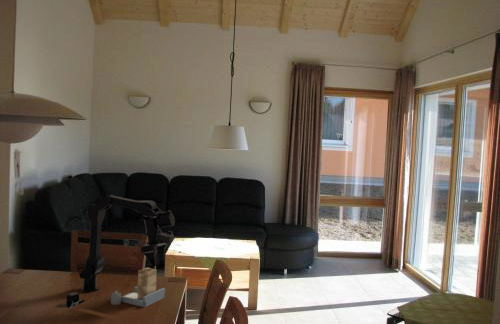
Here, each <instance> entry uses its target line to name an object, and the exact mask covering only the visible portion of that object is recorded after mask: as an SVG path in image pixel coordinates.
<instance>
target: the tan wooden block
mask: <svg viewBox="0 0 500 324" xmlns="http://www.w3.org/2000/svg"><path fill="white" fill-rule="evenodd" d="M157 271H158V270H157V269H156V268H151V267H145V268H143V269H139V270H138V272H137V274H138V275H137V276H138V277H137V287H138V299H137V300H142V301H143V297H144V296H146V295H149V294H151V293H153V292H155V291H157V273H158V272H157Z"/></svg>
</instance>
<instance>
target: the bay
mask: <svg viewBox="0 0 500 324" xmlns="http://www.w3.org/2000/svg"><path fill="white" fill-rule="evenodd" d="M164 298H166V287H162V288H160V289H158V290H157V289H156V291H155V292H153V293H151V294H149V295H146V296H144V297H143V301H142V300H137V299H138V285H137V286H134V291H132V292H129V293H126V294H125V295H122V293H121V292H118V290H115V291H114V292H112V293H111V294H110V304H111V305H112V306H113V305H114V306H117V305H121V304H122V303H124V304H125V303H126V304H129V305H134V306H137V307H143V308H146V307H148V306H150V305H152V304H154V303H156V302H158V301H160V300H163V299H164Z"/></svg>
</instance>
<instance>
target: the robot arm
mask: <svg viewBox="0 0 500 324" xmlns="http://www.w3.org/2000/svg"><path fill="white" fill-rule="evenodd" d="M112 206H115V207H120V208H124V209H125V208H126V209H128V210H129V209H130V210H133V211H135V212H137V214H138V213H139V214H140V215H141V216H140V218H139V222H143V221H144V227H145V232H144V235H145V236H146V238H147V242H145V243H146V244H144V245H142V246H141V247H140V253H141V254H142V255H144V256H145V257H146V258H147V260H148V261H149V263H150V264H151V265H152V267H157V258H156V257H157V256H156V254H157V255H158V257H159V259H160V261H161V262H164V261H165V256H166V255H165V254H166V253H165V252H166V248H167V246H169V244H171V243H173V241H174V238H175V235H174V234H173V231H172V230H168V231H167V232H163V231H162V228H168V227H173V226H175V225H176V219H175V218H176V217H175V216H174V214H173V213H172V210H167V211H162V210H161V209H160V208H159V207H158V206H157V204H156V202H155V201H154V200H136V199H131V198H125V197H121V196H118V195H117V196H116V195H114V194H111V195H107V196H105V197H104V198H103V199H100V201H98V202H96V203H95V204H91V205H89V206H88V207H87V209H86V213H87V220H88V222H89V225H90V228H89V251H88V252H89V253H88V257H87V259H86V260H85V264H84V269H83V270H82V271H80V272H79V275H78V276H79V278H80V279H82V286H81V287H79V289H80V290H81V291H82V292H84V293H87V292H88V293H89V292H94V291H99V287H97V276H98V275H100V273H101V271H102V270H103V269H104V267H105V256H104V257H103V256H102V254H101V241H102V223H103V221H104V219H105V217H106V216H105V215H106V213H107V210H108V209H110V208H111V207H112ZM160 228H161V229H160Z"/></svg>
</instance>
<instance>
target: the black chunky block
mask: <svg viewBox="0 0 500 324" xmlns="http://www.w3.org/2000/svg"><path fill="white" fill-rule="evenodd" d="M65 301H66V302H64V303H61V304H60V305H59V306H58V307H63V308H68V309H70V308H72V307H75V306H78V305H80V304H82V303H85V300H82V299H80V295H79V292H75V291H74V292H71V293H70V292H69V293H67V294H66V300H65Z"/></svg>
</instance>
